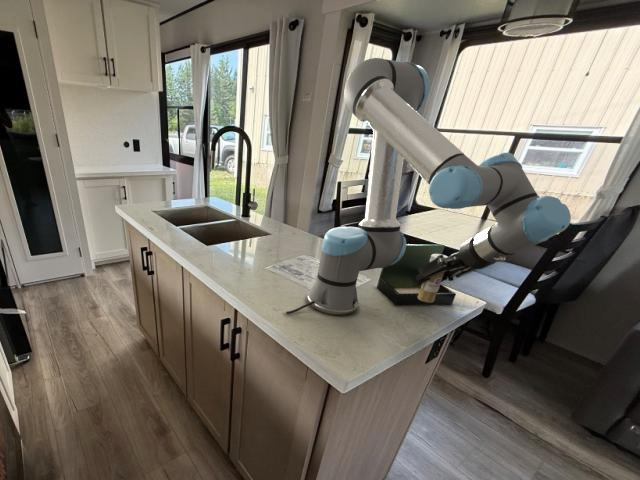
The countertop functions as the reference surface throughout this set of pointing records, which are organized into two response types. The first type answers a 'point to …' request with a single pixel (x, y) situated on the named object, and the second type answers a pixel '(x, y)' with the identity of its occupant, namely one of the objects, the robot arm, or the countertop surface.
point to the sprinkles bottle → (431, 285)
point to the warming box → (407, 269)
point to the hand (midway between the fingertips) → (421, 282)
